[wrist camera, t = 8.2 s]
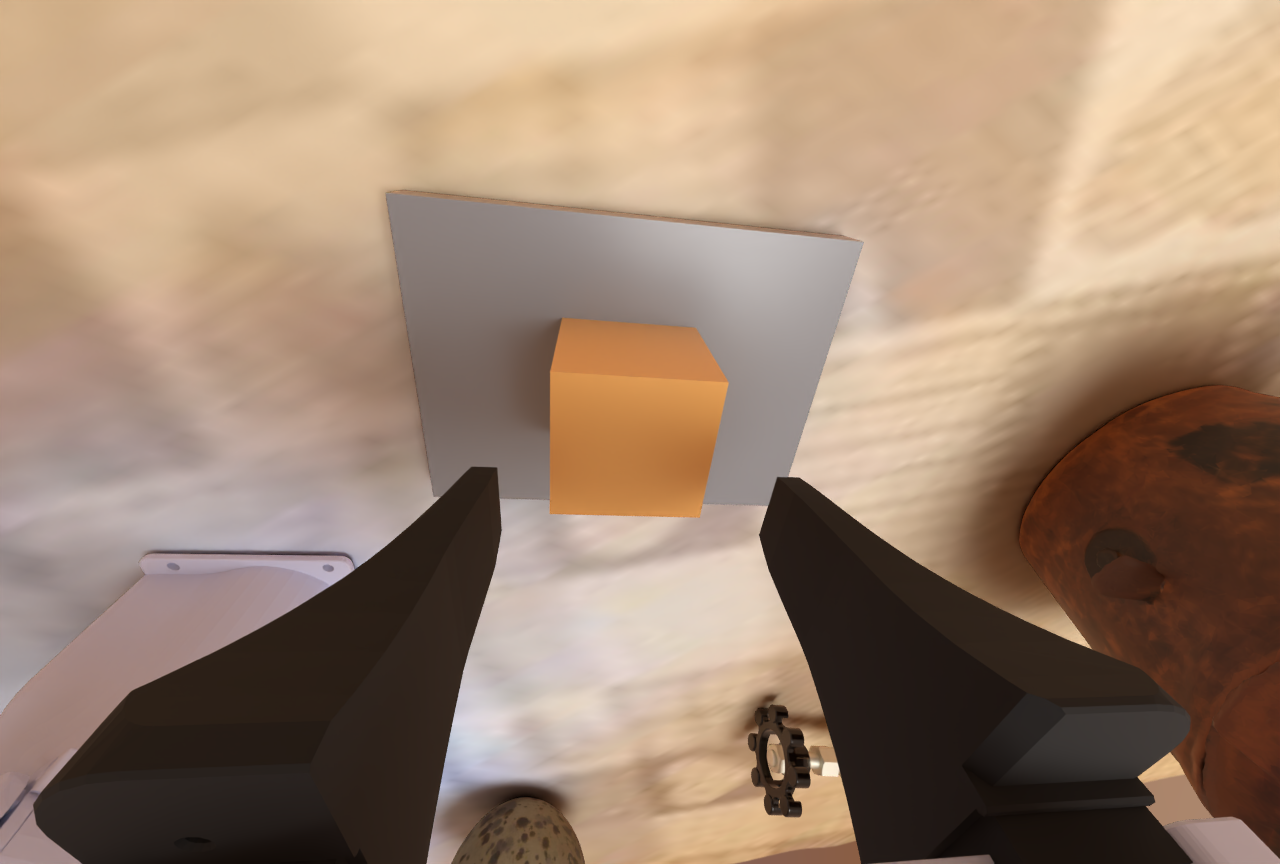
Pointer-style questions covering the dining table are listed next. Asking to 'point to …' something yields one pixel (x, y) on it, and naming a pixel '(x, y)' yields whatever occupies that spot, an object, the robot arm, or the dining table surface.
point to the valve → (786, 761)
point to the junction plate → (607, 291)
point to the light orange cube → (632, 419)
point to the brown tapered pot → (1182, 575)
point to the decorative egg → (521, 836)
